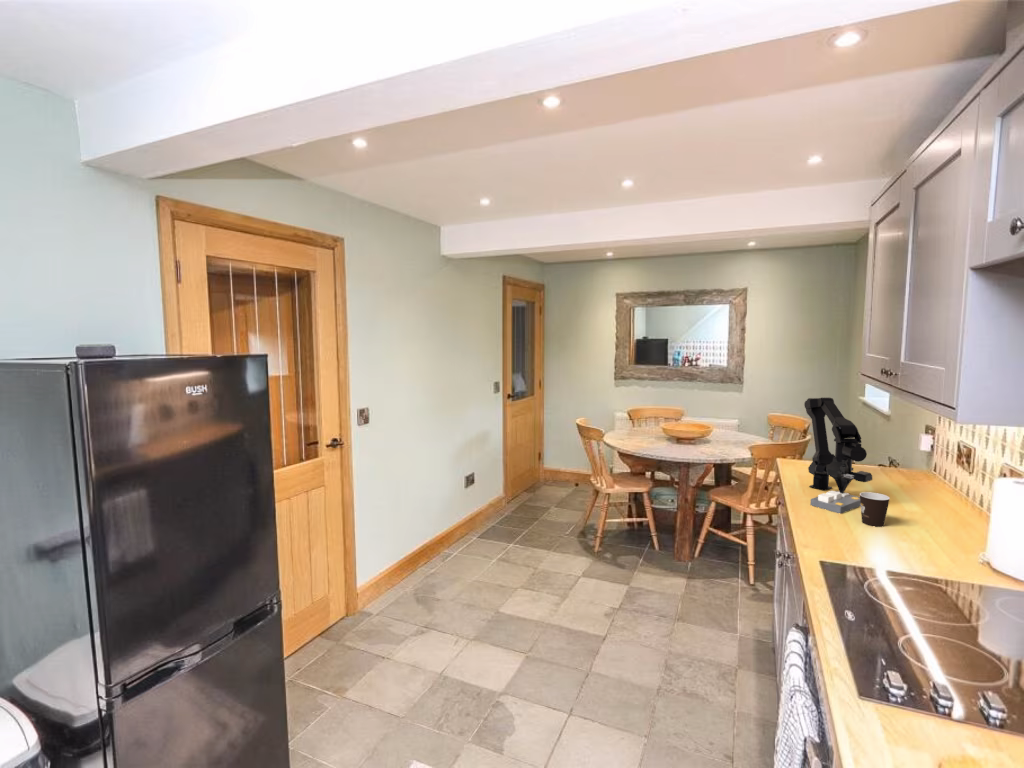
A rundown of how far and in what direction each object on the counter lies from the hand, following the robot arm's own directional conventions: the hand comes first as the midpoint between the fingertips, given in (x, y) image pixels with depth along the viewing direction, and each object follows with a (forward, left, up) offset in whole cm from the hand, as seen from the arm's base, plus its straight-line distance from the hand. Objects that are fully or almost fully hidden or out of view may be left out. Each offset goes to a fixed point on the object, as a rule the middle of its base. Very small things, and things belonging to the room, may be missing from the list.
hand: (841, 493), depth 203 cm
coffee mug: (+14, +18, -3) cm, 23 cm away
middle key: (+6, 0, -2) cm, 6 cm away
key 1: (+12, 0, -2) cm, 12 cm away
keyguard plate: (+6, +2, -3) cm, 7 cm away
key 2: (0, 0, -3) cm, 3 cm away
